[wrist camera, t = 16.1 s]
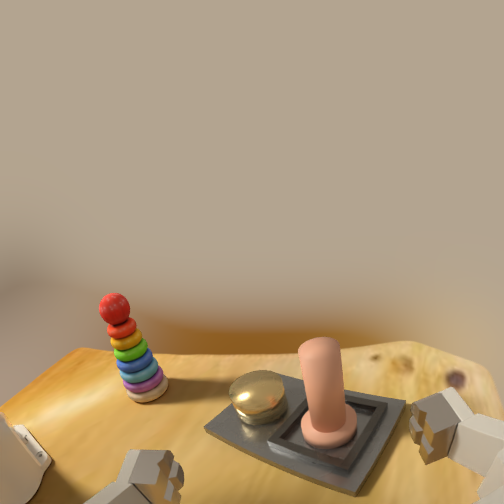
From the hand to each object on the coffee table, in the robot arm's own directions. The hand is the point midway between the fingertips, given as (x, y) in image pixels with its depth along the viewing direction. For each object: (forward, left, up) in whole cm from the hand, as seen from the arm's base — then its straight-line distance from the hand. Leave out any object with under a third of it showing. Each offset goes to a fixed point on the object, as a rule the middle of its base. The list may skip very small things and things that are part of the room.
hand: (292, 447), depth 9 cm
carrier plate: (-14, +16, -22) cm, 30 cm away
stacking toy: (-42, +10, -22) cm, 48 cm away
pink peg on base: (-10, +16, -21) cm, 28 cm away
